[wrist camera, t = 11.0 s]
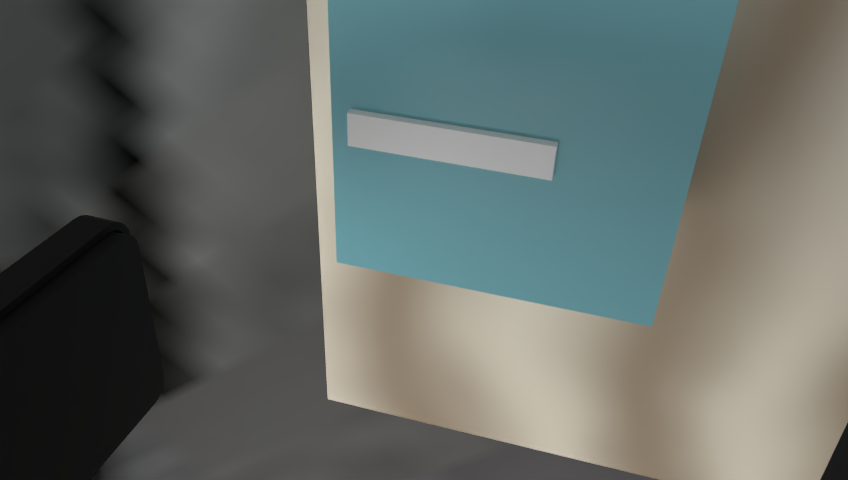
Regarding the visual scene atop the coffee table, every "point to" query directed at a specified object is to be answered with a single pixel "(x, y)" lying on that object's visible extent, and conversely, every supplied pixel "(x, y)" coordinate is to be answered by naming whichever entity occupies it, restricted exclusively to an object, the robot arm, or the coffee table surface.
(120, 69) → the coffee table surface
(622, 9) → the teal drawer cube
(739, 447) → the hub board
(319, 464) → the coffee table surface
